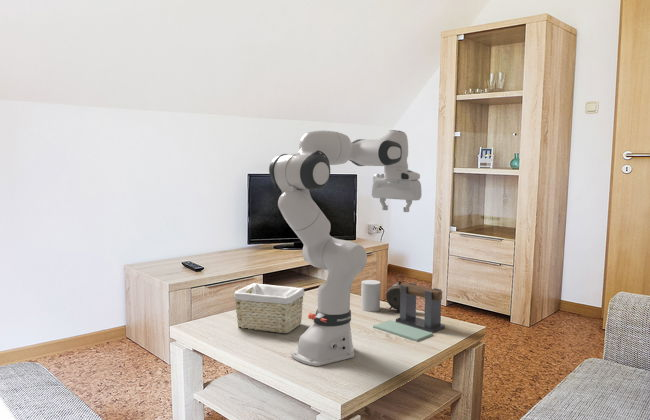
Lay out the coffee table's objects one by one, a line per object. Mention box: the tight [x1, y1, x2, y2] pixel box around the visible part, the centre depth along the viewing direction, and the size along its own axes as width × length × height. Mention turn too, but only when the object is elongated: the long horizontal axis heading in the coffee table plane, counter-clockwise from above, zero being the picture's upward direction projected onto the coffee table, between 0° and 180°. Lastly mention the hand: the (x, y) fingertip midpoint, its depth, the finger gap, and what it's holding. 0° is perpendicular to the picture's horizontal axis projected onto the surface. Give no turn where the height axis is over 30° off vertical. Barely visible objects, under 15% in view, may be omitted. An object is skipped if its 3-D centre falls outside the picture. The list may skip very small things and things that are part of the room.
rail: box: [400, 282, 443, 301], centre depth 210 cm, size 3×18×3 cm, turn 43°
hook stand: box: [395, 282, 446, 334], centre depth 211 cm, size 8×18×15 cm, turn 43°
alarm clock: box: [385, 274, 405, 314], centre depth 229 cm, size 11×5×16 cm, turn 63°
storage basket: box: [233, 282, 305, 334], centre depth 210 cm, size 24×16×15 cm
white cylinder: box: [360, 279, 381, 313], centre depth 233 cm, size 8×8×12 cm
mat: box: [372, 319, 434, 342], centre depth 204 cm, size 10×21×1 cm, turn 43°
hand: (395, 211), depth 201 cm, fingers open, 8 cm apart
